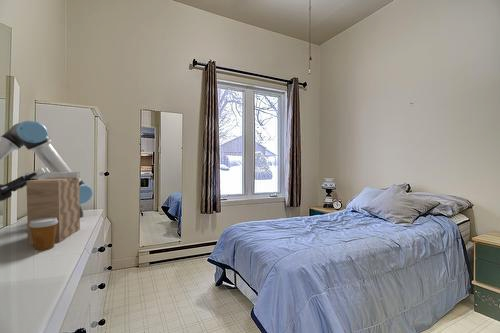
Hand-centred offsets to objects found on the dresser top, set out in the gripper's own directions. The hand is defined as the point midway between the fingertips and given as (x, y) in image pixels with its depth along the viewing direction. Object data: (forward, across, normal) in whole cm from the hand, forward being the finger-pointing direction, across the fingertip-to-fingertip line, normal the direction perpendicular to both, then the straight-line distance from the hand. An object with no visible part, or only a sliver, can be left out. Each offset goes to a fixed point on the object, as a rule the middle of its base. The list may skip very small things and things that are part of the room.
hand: (45, 170), depth 124 cm
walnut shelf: (-10, +6, -31) cm, 33 cm away
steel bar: (+1, 0, -5) cm, 5 cm away
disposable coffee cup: (-7, +24, -33) cm, 42 cm away
